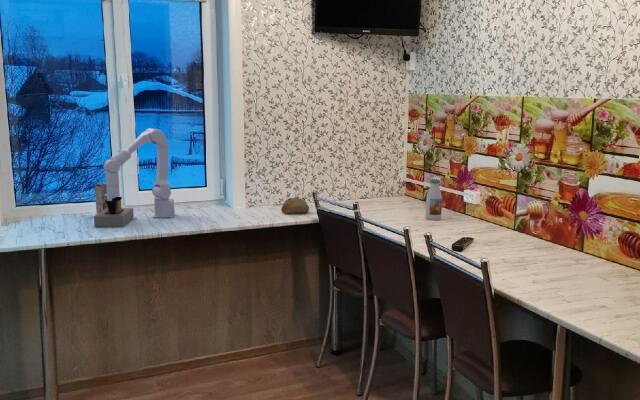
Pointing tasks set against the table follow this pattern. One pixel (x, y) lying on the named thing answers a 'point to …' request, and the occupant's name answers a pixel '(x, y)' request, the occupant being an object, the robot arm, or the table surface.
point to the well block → (113, 218)
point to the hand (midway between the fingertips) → (114, 213)
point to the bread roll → (295, 206)
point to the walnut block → (117, 208)
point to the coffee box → (100, 197)
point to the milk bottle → (434, 201)
